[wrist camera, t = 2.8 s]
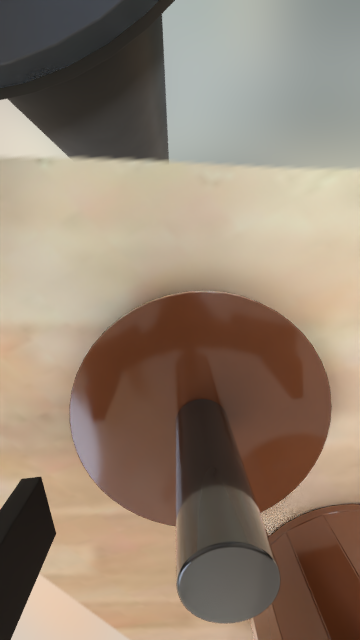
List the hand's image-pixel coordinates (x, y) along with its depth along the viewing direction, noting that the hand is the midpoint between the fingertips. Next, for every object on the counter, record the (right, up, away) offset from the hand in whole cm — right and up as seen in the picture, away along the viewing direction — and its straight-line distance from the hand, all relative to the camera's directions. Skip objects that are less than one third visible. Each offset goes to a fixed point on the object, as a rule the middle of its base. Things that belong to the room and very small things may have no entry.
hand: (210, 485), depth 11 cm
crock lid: (0, +1, +4) cm, 4 cm away
